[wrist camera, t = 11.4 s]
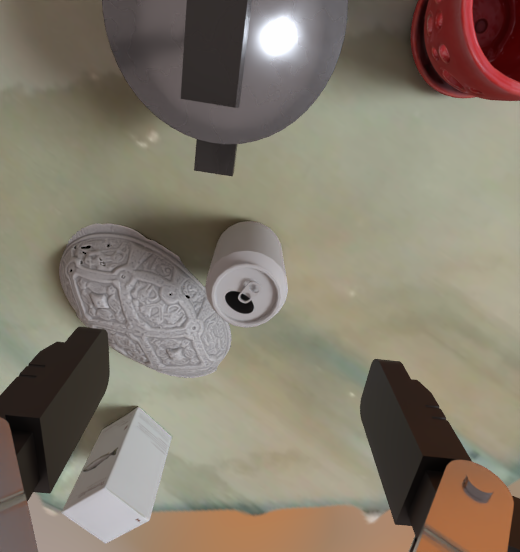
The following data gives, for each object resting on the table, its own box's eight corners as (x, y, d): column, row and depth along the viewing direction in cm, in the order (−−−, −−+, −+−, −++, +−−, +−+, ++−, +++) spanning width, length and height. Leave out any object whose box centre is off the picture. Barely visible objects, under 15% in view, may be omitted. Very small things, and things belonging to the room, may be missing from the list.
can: (203, 255, 44) (185, 304, 34) (242, 205, 42) (237, 240, 31) (255, 291, 46) (254, 348, 35) (295, 245, 44) (307, 291, 33)
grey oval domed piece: (101, 191, 41) (72, 214, 35) (265, 325, 50) (264, 362, 44) (31, 278, 47) (-3, 309, 41) (189, 385, 55) (179, 424, 50)
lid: (110, -159, 22) (53, -262, 16) (369, -106, 23) (409, -183, 17) (111, 124, 28) (70, 129, 22) (315, 157, 29) (331, 170, 23)
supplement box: (138, 404, 53) (105, 486, 42) (173, 436, 56) (151, 522, 44) (100, 427, 55) (58, 513, 44) (136, 458, 57) (105, 546, 46)
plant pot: (537, 86, 38) (652, 77, 27) (401, 114, 39) (458, 117, 28) (551, -84, 32) (702, -181, 21) (394, -46, 33) (461, -121, 22)
